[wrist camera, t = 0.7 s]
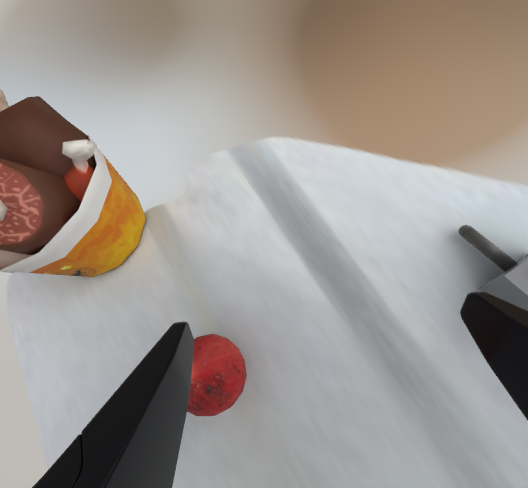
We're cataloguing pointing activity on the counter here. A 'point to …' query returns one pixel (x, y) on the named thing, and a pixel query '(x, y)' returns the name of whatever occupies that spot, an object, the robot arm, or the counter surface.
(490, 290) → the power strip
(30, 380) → the counter surface
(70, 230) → the bucket of meat
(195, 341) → the onion
